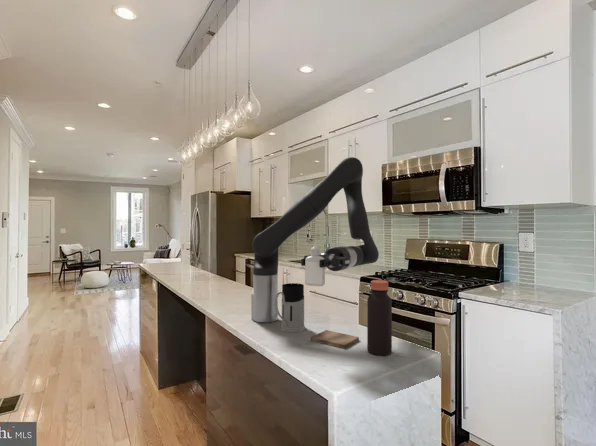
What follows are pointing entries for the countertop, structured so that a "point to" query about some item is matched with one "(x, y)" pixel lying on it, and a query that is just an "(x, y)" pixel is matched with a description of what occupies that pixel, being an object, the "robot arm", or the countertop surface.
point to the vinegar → (379, 319)
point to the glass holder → (292, 307)
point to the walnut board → (335, 339)
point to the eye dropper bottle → (314, 268)
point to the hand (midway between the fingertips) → (311, 262)
